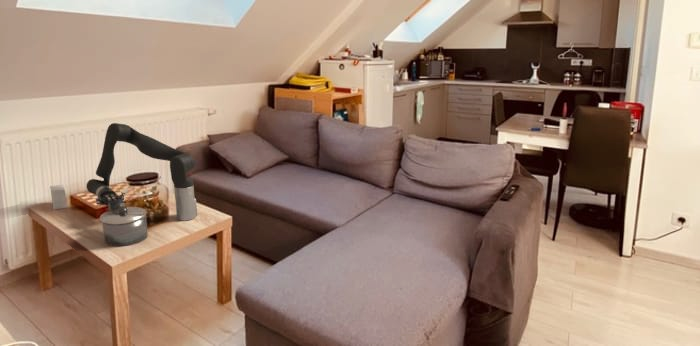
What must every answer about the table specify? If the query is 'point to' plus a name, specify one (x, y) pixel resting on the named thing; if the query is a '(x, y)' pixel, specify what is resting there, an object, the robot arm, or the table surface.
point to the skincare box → (58, 197)
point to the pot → (125, 233)
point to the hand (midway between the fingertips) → (115, 204)
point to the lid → (121, 213)
